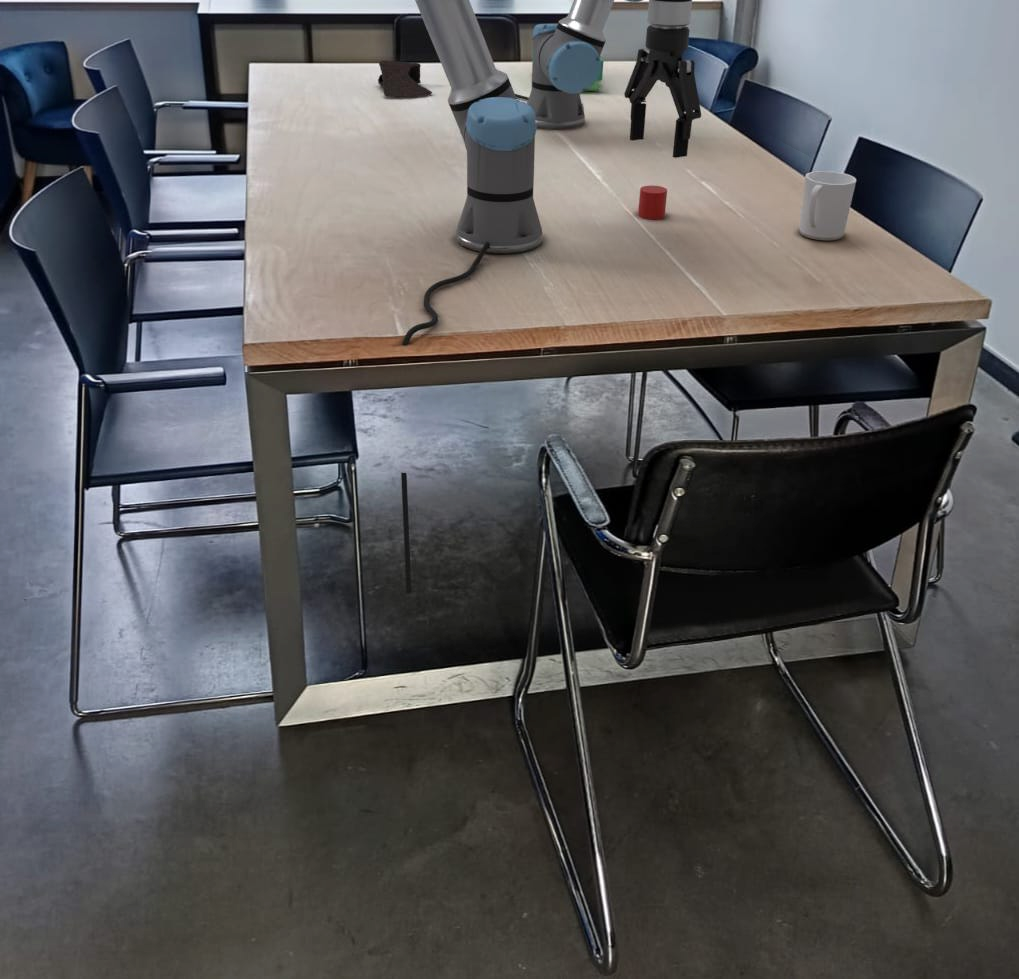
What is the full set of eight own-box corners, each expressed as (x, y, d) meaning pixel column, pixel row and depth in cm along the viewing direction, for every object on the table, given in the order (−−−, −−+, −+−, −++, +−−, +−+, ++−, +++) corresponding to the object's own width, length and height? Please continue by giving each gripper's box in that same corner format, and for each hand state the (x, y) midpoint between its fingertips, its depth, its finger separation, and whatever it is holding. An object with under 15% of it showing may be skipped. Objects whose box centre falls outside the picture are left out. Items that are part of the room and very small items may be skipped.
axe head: (443, 87, 294) (392, 77, 287) (436, 115, 299) (385, 106, 292) (421, 62, 307) (371, 52, 300) (414, 89, 311) (365, 80, 304)
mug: (809, 222, 208) (818, 168, 202) (854, 233, 203) (864, 177, 197) (782, 236, 200) (791, 180, 195) (827, 247, 195) (838, 190, 190)
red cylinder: (667, 212, 212) (669, 187, 209) (662, 220, 208) (664, 194, 205) (641, 209, 213) (643, 184, 210) (635, 217, 209) (637, 191, 206)
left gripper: (730, 35, 185) (715, 161, 196) (644, 14, 203) (635, 130, 214) (695, 38, 182) (682, 166, 193) (611, 16, 200) (603, 134, 211)
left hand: (657, 148), depth 204 cm, fingers open, 13 cm apart
